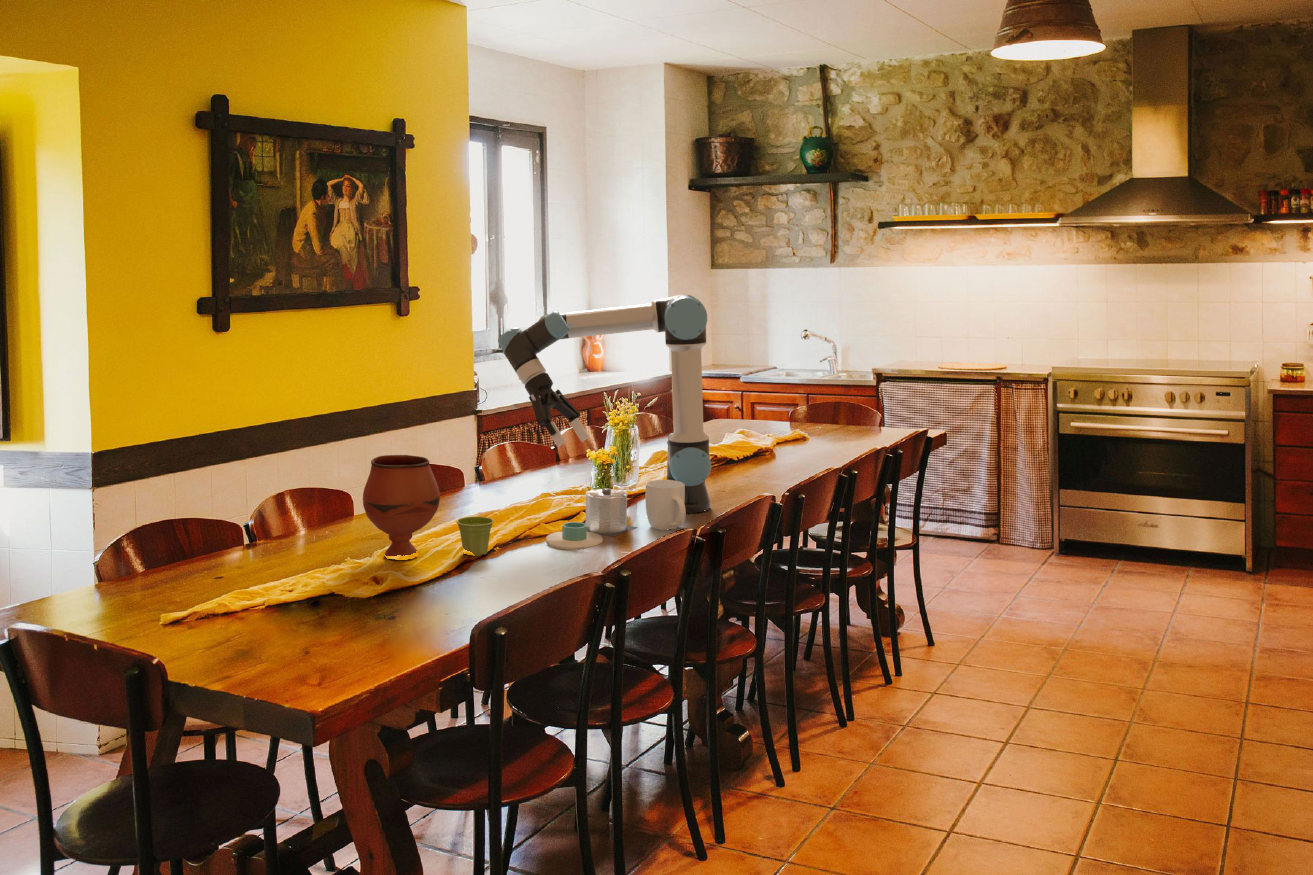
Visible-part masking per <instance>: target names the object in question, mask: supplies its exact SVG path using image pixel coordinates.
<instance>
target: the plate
mask: <svg viewBox="0 0 1313 875" xmlns="http://www.w3.org/2000/svg"><path fill="white" fill-rule="evenodd" d="M545 538H546V542H545V543H546V545H548V546H550V547H552V548H556V549H561V550H567V551H569V550H570V551H575V550H580V551H581V550H583V548H590V547H595V546H598V545H600V544H601V543H603V541H604V540H603V539H604V538H603V535H599V534H596V533H593V532H587V524H585V522H580V521H569V522H568V521H567V522H565V523H562V531H556V532H552V533H550V534H548V535H546V537H545Z"/></svg>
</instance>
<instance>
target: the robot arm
mask: <svg viewBox="0 0 1313 875" xmlns="http://www.w3.org/2000/svg"><path fill="white" fill-rule="evenodd" d="M707 322H708V313H707V308H705V305H704V304H703V303H702V302H701V301H700V300H699V299H698V298H696V297H695V296H692V295H690V294H686V293H684V294H683V293H681V294H676V295H674V296H673V295H672V296H670V297H664V298H659V299H653V301H651V303H646V304H644V303H643V304H637V305H635V304H634V305H627V306H618V307H608V308H600V309H591V310H579V311H571V312H565V313H560V312H559V311H558V310H554V311H552V312H550V313H547V314H544V315H542V316H541V317H540V318H539V320H538V321H536V322H535V323H534V324H531V326H529V327H528V328H526V329H525V330H521V328H519V327H513V328H511V329H509V330H507V331H504V333H502V334H501V335H500V337H499V338H498V344H499V346H500V348H501V350H502V352H503V354H504V355H505V358H506V359H507V361H508V363H509V364H510V366H511V367H512V368H513V370H514V372H515V373H516V376H517V377H518V380H519V381H521V383H522V384H523V385H524V389H525V390H526V392H527V394H528V395H529V396H528V399H529V401H530V403H531V405H532V409H533V413H534V415H535V419H536V422H537V425H538V426H540V428H541V429H544V428H545V429H546V430H547V432H548V434H549V435H550V437H551V439H552V440H553V442H554V443H555V445H556V447H557V448H559V447H560V446H562V445H564V443H566V439H565V438H564V436H563V434H562V433H561V431H560V430H559V427H558V426H557V425H556V423H555V421H552V414H551V409H552V410H555V411H556V410H557V412H559V413H560V415H562V416H563V417H565V418H566V419H567V420H569V421H570V422H569V424H570V426H571V427H572V429H573V431H574V432H575V434H576V435H577V437H578V438H579V441H580V442H581V443H583V442H585V441H586V440H587V439H589V438H590V435H589V434H588V432H587V430H586V429H585V427H584V426H583V424H582V422H581V420H580V419H579V418H580V417H581V412H580V411H578V409H576V407H575V406H574V405H573V404H572V403H571V401H569V399H567V398H566V397H565V396H564V394H563V393H562V391H561V390H560V389H556V390H555V391H554V390H553V389H552V386H553V385H554V382H553V380H552V379H551V377H550V375H549V374H548V372H547V371H546V368H545V367H544V365H543V364H542V363H541V361H540V358H539V357H538V355H537V354H539V353H541V352H542V351H543V350H545V349H546V348H548V347H550V346H552V345H553V344H555V343H556V342H558V341H560V340H567V339H575V338H583V337H585V338H586V337H595V336H603V335H612V334H623V333H631V332H633V333H634V332H640V331H642V332H643V331H651V330H652V331H653V330H654V331H655V332H656V333H663V332H664V334H665V335H664V338H665V346H666V347H668V348H669V350H670V352H671V353H670V355H671V357H670V358H671V359H670V360H671V387H672V388H671V390H672V391H671V392H672V416H673V417H672V420H673V432H672V433H669V434H668V437H667V441H666V444H667V459H666V460H667V461H666V480H674V481H679V482H682V483H684V484H685V502H684V505H685V510H686V514H697V512H699V513H702V512H701V511H704V510H708V509H709V508H710V509H711V499H710V496H709V492H708V490H707V486H706V480H707V479H708V477H709V475H710V473H711V471H712V461H711V457H710V437H709V435H708V434H707V433H705V431H704V405H703V404H704V403H703V402H704V401H703V370H702V369H703V367H702V364H703V363H702V349H703V347H704V346H705V345H706V344H707ZM710 509H709V510H710ZM709 510H708V511H709Z"/></svg>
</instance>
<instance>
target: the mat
mask: <svg viewBox="0 0 1313 875" xmlns="http://www.w3.org/2000/svg"><path fill="white" fill-rule="evenodd" d="M636 529H638V526H632V525H627V524H626V531H623V532H621V533H614V534H599V533H596V534H599V535H601V536H602V537H603V536H604V537H609V538H614V537H617V536H619V535H622V534H625V533H627V532H631V531H633V530H636ZM587 532H589V531H588V530H587Z"/></svg>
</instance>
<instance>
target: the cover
mask: <svg viewBox="0 0 1313 875" xmlns="http://www.w3.org/2000/svg"><path fill="white" fill-rule="evenodd" d="M627 497H628V492H626V491H624V490H620V489H616V488H615V489H613V488H612V489H611V488H599V489H597V488H596V489H592V490H588V491H586V493H585V521H584V523H585V524H587V530H588V531H589V532H593V533H599V534H614V533H621V532H623V531H626V525H627V516H628V515H627V514H628V513H627V511H628V510H627V508H628V507H627V506H628V498H627Z"/></svg>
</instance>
